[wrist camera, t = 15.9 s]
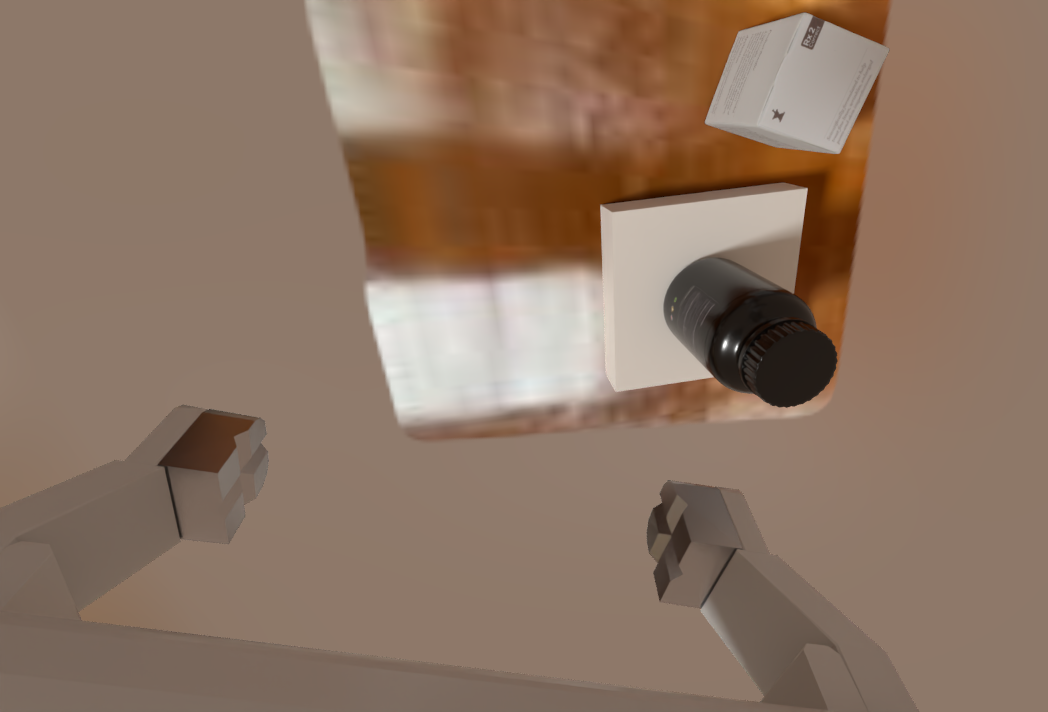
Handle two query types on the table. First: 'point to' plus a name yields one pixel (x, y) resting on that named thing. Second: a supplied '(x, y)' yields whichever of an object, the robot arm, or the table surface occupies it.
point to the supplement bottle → (749, 332)
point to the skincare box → (796, 83)
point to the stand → (666, 249)
